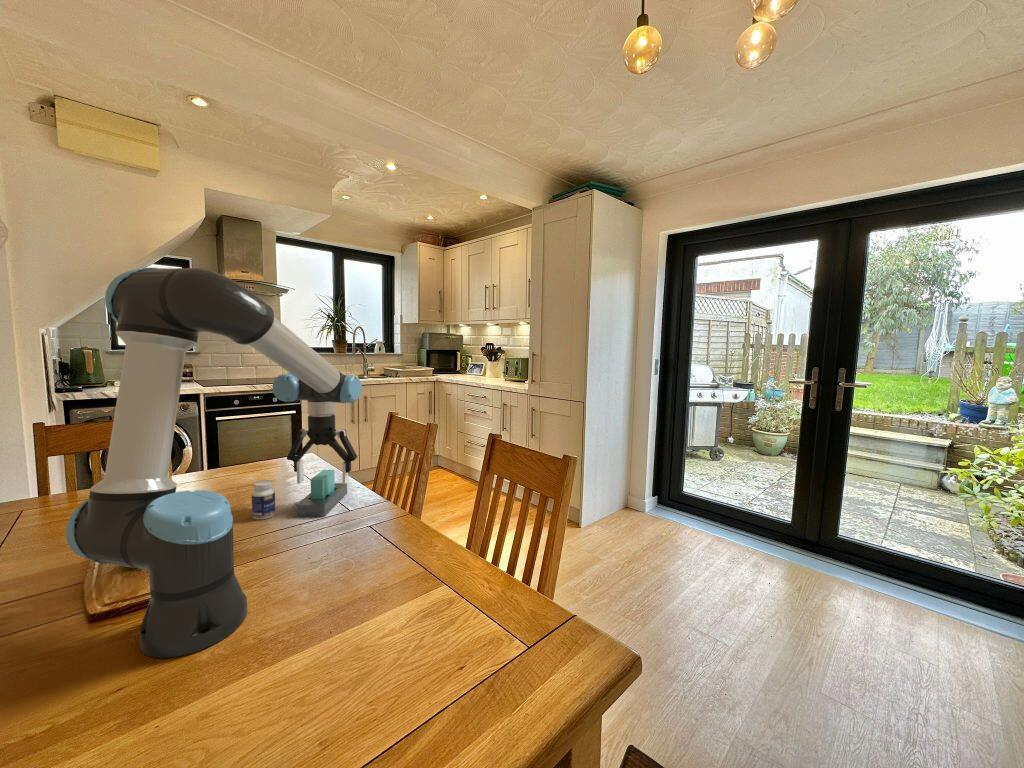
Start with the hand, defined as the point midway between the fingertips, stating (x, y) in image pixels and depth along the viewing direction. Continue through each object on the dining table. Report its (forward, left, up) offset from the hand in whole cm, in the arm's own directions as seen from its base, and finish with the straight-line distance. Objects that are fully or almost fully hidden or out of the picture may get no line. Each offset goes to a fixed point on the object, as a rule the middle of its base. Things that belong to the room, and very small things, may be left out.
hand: (323, 482), depth 125 cm
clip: (0, 0, -7) cm, 7 cm away
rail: (0, 0, -7) cm, 7 cm away
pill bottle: (-9, +13, -7) cm, 17 cm away
